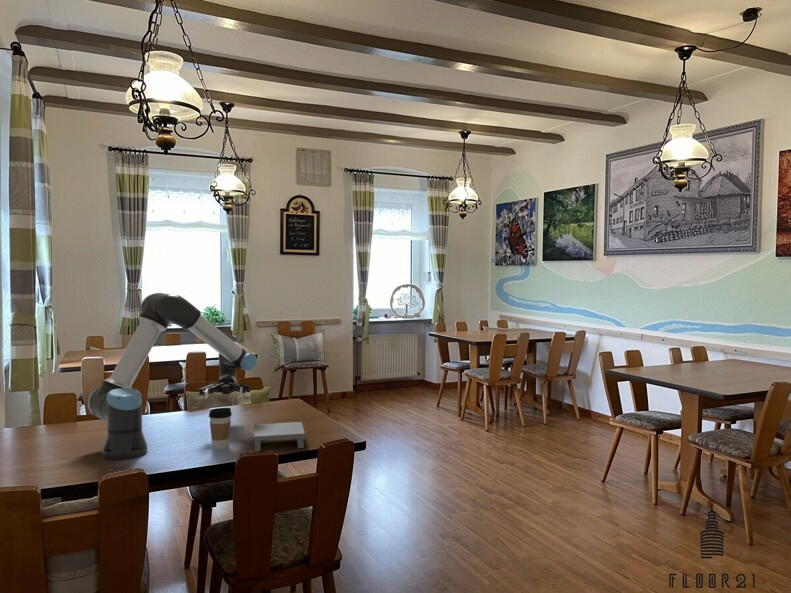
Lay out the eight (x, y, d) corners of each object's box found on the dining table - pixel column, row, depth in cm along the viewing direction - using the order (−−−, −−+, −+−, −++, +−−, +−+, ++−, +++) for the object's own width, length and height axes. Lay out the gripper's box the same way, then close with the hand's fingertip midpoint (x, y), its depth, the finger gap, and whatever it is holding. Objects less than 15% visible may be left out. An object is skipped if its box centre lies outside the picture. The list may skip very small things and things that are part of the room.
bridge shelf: (253, 452, 216) (253, 436, 216) (254, 439, 234) (254, 424, 233) (304, 449, 220) (304, 433, 220) (301, 436, 238) (301, 421, 238)
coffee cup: (225, 451, 217) (225, 411, 217) (204, 450, 219) (204, 410, 218) (235, 445, 225) (235, 407, 225) (216, 443, 227) (215, 406, 227)
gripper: (256, 391, 256) (255, 401, 235) (197, 394, 250) (191, 405, 230) (255, 374, 255) (255, 383, 235) (196, 377, 250) (190, 386, 229)
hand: (223, 394), depth 232 cm, fingers open, 13 cm apart
